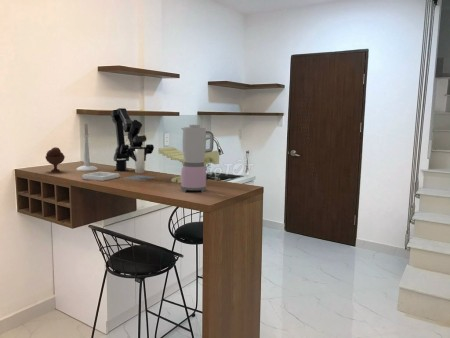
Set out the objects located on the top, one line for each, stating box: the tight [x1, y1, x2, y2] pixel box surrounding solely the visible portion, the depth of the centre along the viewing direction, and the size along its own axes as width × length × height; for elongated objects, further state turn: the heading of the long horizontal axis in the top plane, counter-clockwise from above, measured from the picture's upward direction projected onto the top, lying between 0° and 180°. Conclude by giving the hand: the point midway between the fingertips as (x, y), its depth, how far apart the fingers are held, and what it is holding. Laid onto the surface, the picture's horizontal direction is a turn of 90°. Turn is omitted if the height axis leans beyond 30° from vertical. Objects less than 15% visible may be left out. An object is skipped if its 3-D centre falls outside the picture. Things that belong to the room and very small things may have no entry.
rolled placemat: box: [134, 149, 145, 174], centre depth 208 cm, size 5×5×13 cm
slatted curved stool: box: [157, 146, 220, 184], centre depth 206 cm, size 30×16×18 cm, turn 61°
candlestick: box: [76, 123, 98, 172], centre depth 236 cm, size 13×13×30 cm
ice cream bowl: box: [45, 147, 66, 173], centre depth 226 cm, size 11×11×15 cm
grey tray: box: [81, 171, 120, 182], centre depth 206 cm, size 14×14×2 cm
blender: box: [180, 124, 215, 193], centre depth 179 cm, size 16×12×32 cm
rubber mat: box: [122, 174, 157, 181], centre depth 210 cm, size 14×14×1 cm
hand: (140, 160), depth 207 cm, fingers closed on rolled placemat, 5 cm apart
